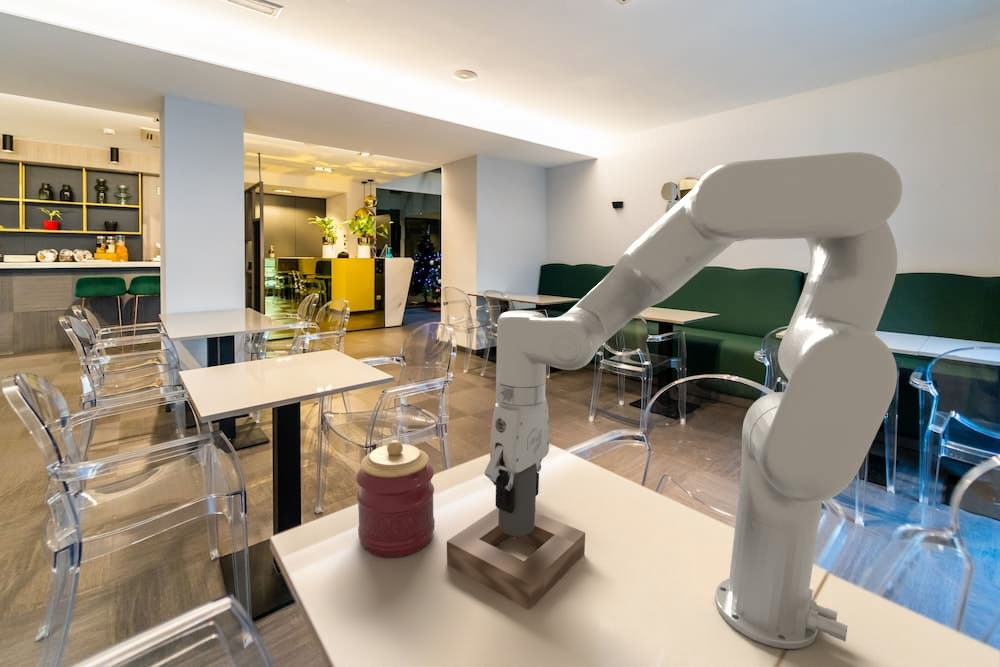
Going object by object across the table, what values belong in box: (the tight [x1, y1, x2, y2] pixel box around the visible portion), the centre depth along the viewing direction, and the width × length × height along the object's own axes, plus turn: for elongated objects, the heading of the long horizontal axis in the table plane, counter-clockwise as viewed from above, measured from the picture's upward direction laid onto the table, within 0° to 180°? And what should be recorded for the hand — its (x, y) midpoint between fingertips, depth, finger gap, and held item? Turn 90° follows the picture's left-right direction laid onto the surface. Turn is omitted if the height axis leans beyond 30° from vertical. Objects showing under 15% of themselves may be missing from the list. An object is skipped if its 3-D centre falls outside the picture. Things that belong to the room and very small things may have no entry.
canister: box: [355, 439, 436, 558], centre depth 84 cm, size 13×13×18 cm
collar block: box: [446, 507, 586, 611], centre depth 79 cm, size 16×16×4 cm
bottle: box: [498, 463, 537, 536], centre depth 77 cm, size 6×6×15 cm
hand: (517, 500), depth 78 cm, fingers closed on bottle, 5 cm apart
